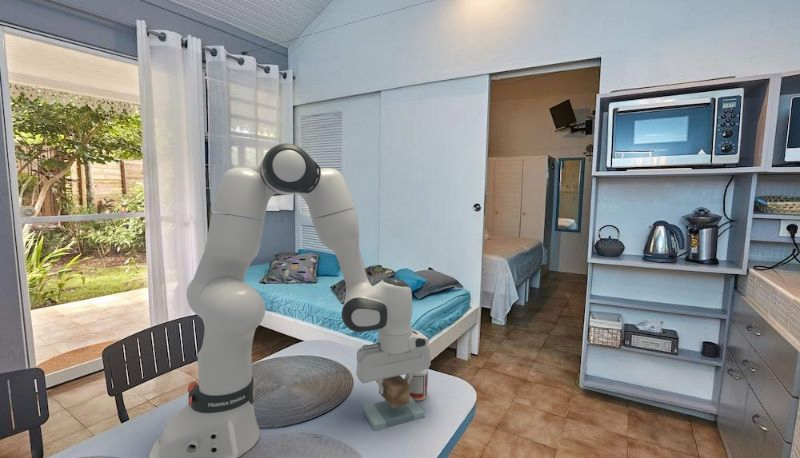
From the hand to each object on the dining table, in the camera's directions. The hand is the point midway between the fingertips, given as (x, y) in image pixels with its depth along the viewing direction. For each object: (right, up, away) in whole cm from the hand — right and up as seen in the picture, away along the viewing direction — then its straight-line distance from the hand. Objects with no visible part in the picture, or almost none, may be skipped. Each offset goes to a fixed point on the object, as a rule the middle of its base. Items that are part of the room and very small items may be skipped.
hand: (394, 390), depth 98 cm
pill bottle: (+6, -6, +9) cm, 13 cm away
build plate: (0, -6, 0) cm, 6 cm away
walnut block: (0, -2, 0) cm, 2 cm away
